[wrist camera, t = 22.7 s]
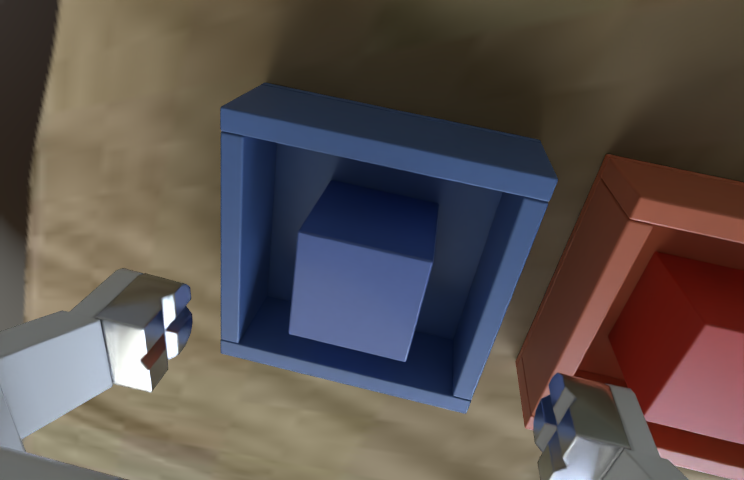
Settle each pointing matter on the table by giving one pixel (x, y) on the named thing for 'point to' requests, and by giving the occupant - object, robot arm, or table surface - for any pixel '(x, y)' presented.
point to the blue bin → (389, 174)
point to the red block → (685, 346)
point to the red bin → (631, 285)
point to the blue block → (363, 269)
